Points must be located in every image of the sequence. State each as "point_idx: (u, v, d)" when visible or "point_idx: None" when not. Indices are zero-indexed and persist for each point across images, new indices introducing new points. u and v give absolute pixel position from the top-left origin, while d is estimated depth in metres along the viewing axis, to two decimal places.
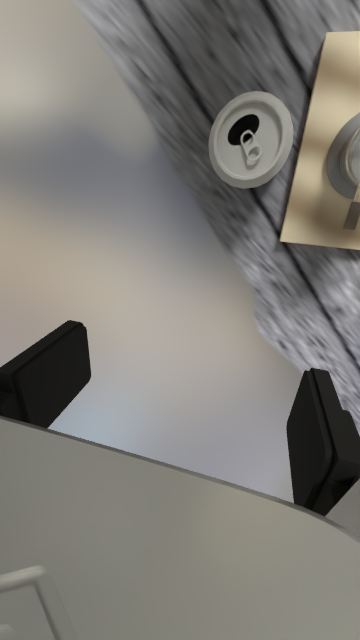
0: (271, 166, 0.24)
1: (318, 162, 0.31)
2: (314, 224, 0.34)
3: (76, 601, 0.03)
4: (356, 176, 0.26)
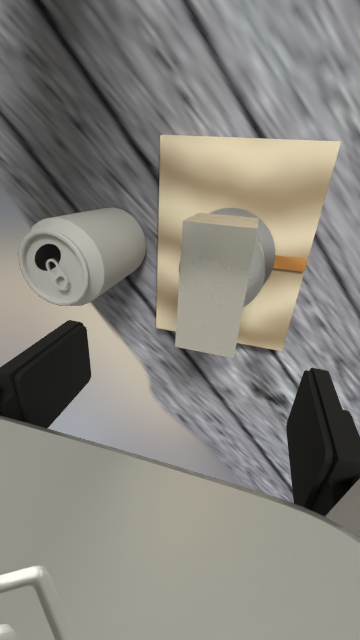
0: (80, 295, 0.22)
1: (177, 257, 0.29)
2: None
3: (77, 602, 0.03)
4: None
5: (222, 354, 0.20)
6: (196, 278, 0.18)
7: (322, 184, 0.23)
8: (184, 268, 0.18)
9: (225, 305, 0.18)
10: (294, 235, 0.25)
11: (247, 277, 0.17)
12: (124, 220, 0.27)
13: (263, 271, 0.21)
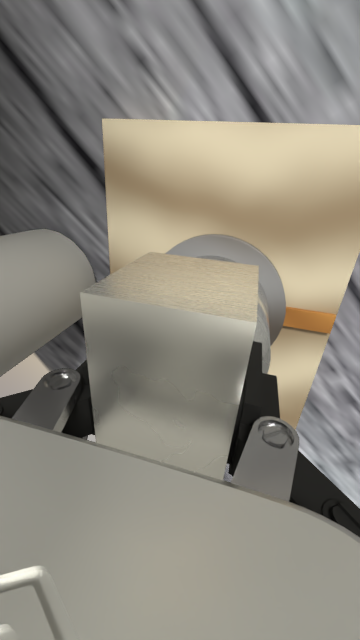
0: None
1: None
2: None
3: (76, 601, 0.03)
4: None
5: None
6: (126, 405, 0.08)
7: None
8: (98, 384, 0.08)
9: (187, 458, 0.09)
10: (316, 279, 0.16)
11: (233, 417, 0.07)
12: (54, 251, 0.18)
13: (267, 355, 0.12)
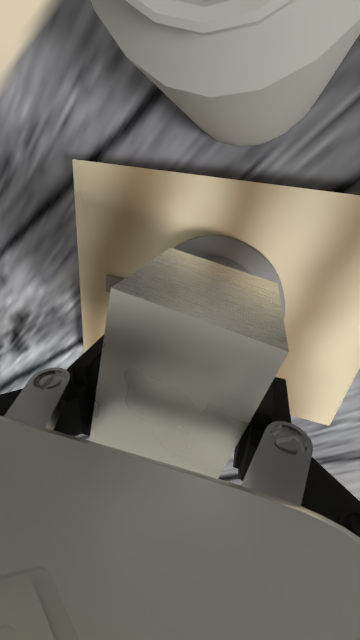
0: None
1: (212, 219, 0.16)
2: (109, 226, 0.18)
3: (76, 602, 0.03)
4: None
5: None
6: (131, 404, 0.08)
7: None
8: (107, 380, 0.08)
9: (182, 462, 0.09)
10: None
11: (239, 433, 0.08)
12: (308, 107, 0.12)
13: None
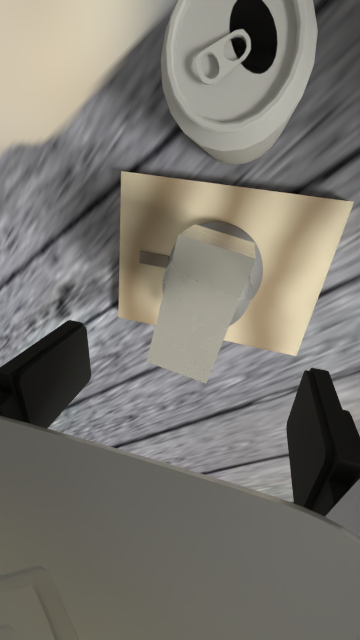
0: (185, 108, 0.13)
1: (214, 211, 0.25)
2: (144, 216, 0.26)
3: (76, 601, 0.03)
4: None
5: (195, 377, 0.19)
6: (182, 296, 0.17)
7: (267, 345, 0.29)
8: (171, 284, 0.16)
9: (206, 329, 0.17)
10: (228, 327, 0.29)
11: (235, 305, 0.16)
12: (271, 145, 0.20)
13: (249, 297, 0.21)
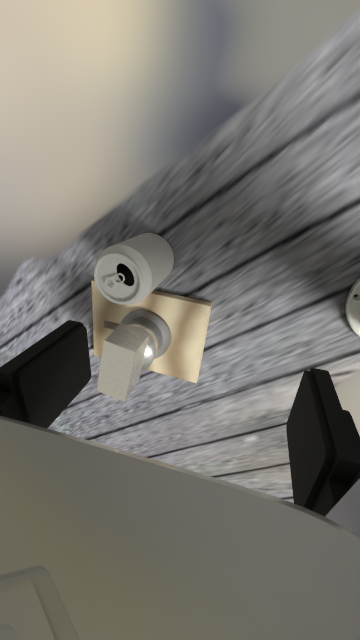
0: (103, 294, 0.33)
1: (142, 304, 0.44)
2: (105, 303, 0.46)
3: (76, 601, 0.03)
4: None
5: (119, 399, 0.39)
6: (109, 364, 0.36)
7: (180, 376, 0.49)
8: (103, 358, 0.36)
9: (121, 378, 0.37)
10: (157, 364, 0.49)
11: (131, 369, 0.36)
12: (162, 281, 0.40)
13: (151, 357, 0.40)
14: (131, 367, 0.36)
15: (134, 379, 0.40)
